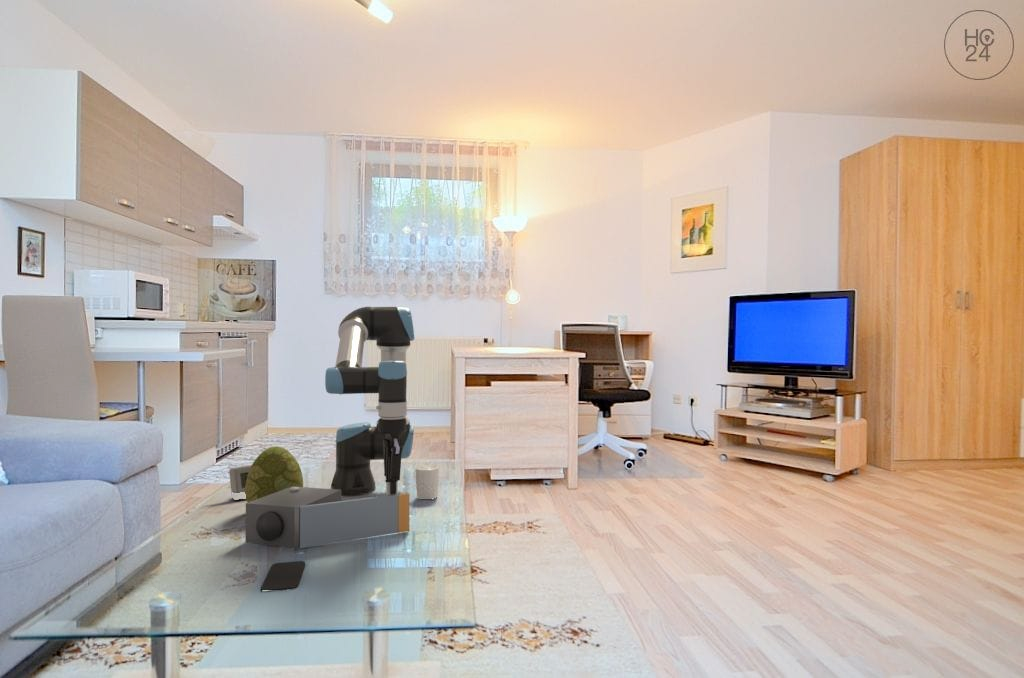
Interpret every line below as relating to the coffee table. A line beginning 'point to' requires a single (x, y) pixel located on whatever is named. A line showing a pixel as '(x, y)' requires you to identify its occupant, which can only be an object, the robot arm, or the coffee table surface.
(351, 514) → the side door
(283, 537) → the camera body
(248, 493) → the decorative sculpture
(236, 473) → the digital clock
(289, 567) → the phone
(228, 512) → the coffee table surface
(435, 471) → the white cup
